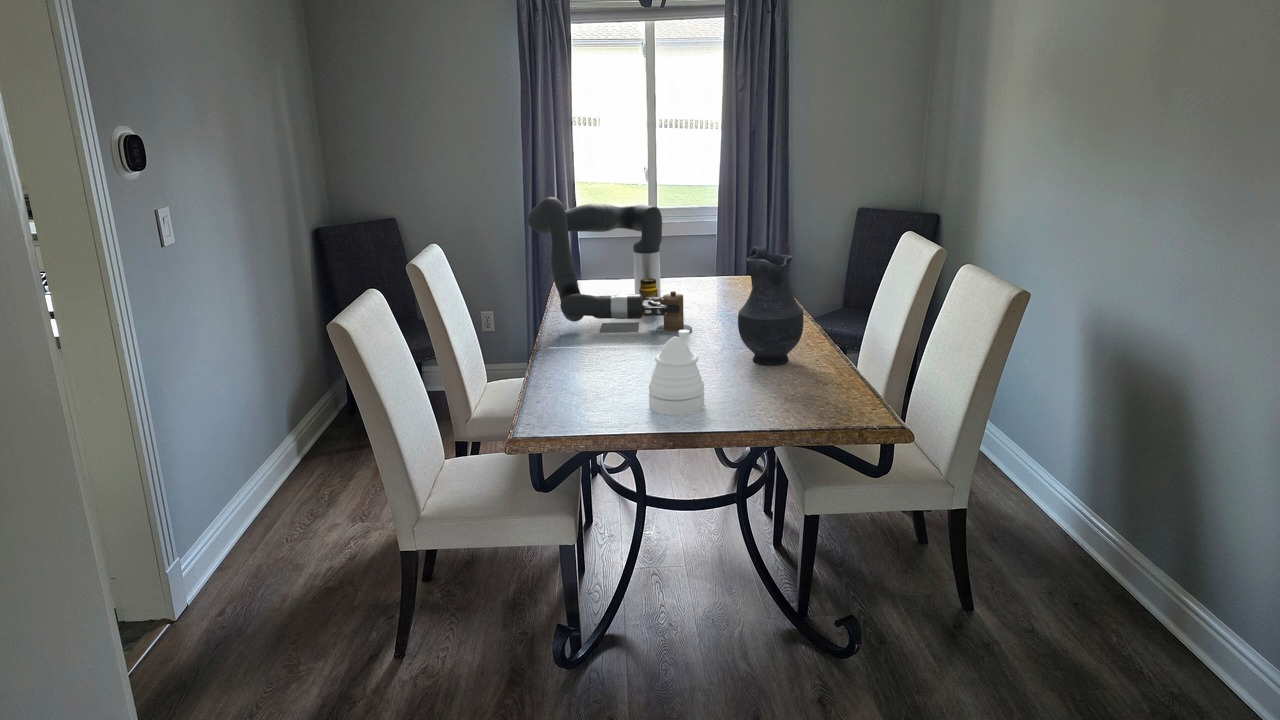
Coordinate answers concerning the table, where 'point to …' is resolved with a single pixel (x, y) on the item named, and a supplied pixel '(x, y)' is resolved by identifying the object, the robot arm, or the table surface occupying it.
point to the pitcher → (770, 310)
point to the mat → (619, 327)
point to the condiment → (648, 289)
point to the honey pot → (676, 379)
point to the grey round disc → (661, 330)
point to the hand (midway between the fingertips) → (679, 305)
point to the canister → (673, 319)
